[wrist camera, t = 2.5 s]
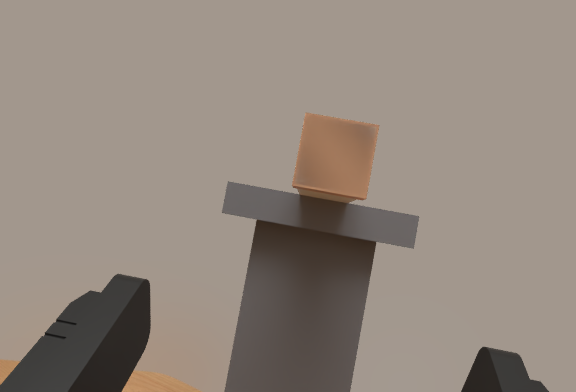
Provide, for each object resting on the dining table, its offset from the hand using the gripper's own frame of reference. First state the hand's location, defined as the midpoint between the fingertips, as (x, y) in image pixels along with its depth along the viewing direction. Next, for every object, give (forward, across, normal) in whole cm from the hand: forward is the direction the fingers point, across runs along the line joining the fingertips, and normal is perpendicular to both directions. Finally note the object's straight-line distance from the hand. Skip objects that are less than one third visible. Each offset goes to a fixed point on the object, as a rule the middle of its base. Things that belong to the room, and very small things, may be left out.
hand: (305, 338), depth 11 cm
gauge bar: (+20, 0, +7) cm, 21 cm away
